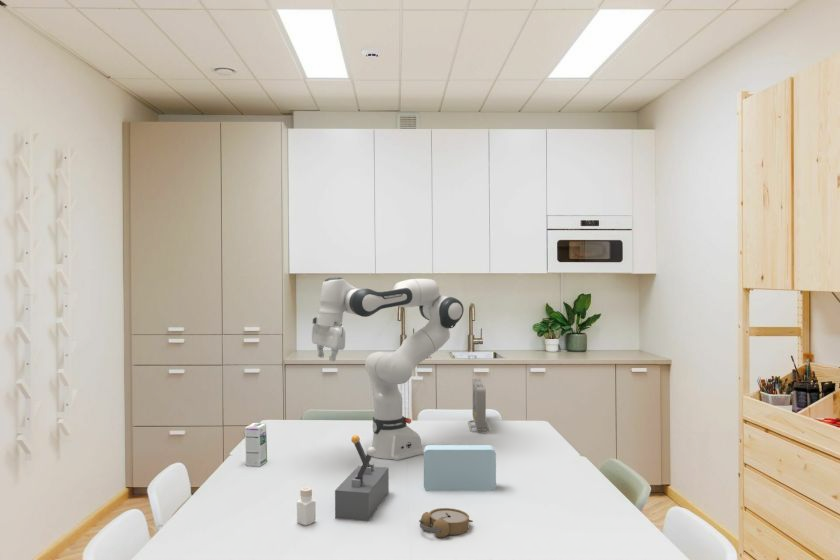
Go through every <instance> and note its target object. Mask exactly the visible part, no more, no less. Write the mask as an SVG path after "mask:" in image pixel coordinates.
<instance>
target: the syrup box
mask: <svg viewBox="0 0 840 560" xmlns="http://www.w3.org/2000/svg"><path fill="white" fill-rule="evenodd" d="M244 431H245V432H244V433H245V435H244V439H245V441H244V442H245V466H247V467H254V466H256V468H257V467H261V466H263V465H264V464H266V463H267V462H268V445H267V443H268V442H267V440H268V439H267V423H264V422H252V423H251V424H249V425H247V426H245V427H244Z"/></svg>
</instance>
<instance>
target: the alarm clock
mask: <svg viewBox="0 0 840 560" xmlns="http://www.w3.org/2000/svg"><path fill="white" fill-rule="evenodd" d="M418 522H419V528H420V529H421V530H424V531H426V532H431V533H432V532H433V534H434V535H435V536H436V537H439V538H442V537H443V538H445V537H447V536H448V535H449V536H451V535H460V534H461V533H462V534H465V533H466V532H465V531H467V530H468V531H469V528H468V526H469V525H470V524H469V523H473V522H474V521H473V520H471V519H470V515H469V514H468V513H467V512H465V511H463V510H460V509H457V508H452V507H451V508H450V507H439V508H435V509H432V510H430V511H425V512H423V513H422V515H421V518H420V519H419V521H418ZM468 531H467V532H468ZM464 532H465V533H464ZM462 534H461V535H462Z"/></svg>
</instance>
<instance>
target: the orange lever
mask: <svg viewBox="0 0 840 560" xmlns="http://www.w3.org/2000/svg"><path fill="white" fill-rule="evenodd" d="M351 443H352V444H353V445H354V447H355V450H356V451H357V454H358V455H359V458H360V460H361V462H362V464H363V462H364V460H365V458H366V456H367V454H366V453H365V450H364V448H363V446H362V444H361V441H360V437H359V435H356V434H354V435H352V437H351ZM370 464H371V463H369V464H368V466H367V467H370Z"/></svg>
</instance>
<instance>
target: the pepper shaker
mask: <svg viewBox="0 0 840 560" xmlns="http://www.w3.org/2000/svg"><path fill="white" fill-rule="evenodd" d="M299 492H300V498H299V500H297V502H296V522H297V523H298V524H301V525H303V526H308V525H310V524H312V523H314V522H316V517H317V516H316V512H317V510H316V506H317V505H316V503H317V502H316V500H315V499H314V498H312V496H313V488H312V487H311V486H303V487H301V488H300V491H299Z"/></svg>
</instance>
